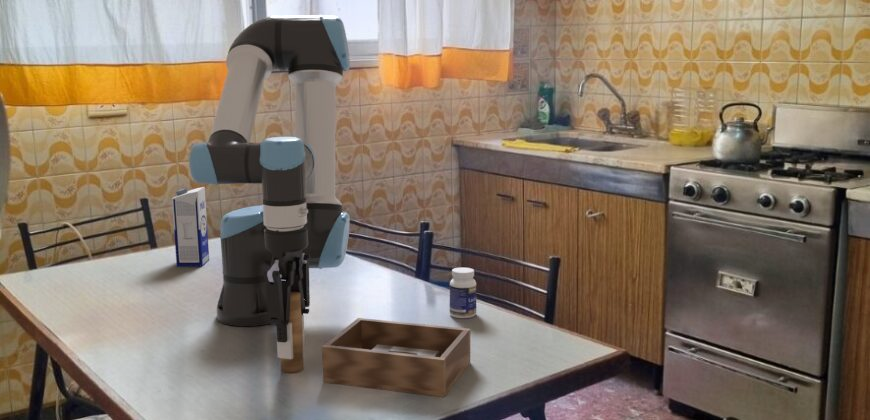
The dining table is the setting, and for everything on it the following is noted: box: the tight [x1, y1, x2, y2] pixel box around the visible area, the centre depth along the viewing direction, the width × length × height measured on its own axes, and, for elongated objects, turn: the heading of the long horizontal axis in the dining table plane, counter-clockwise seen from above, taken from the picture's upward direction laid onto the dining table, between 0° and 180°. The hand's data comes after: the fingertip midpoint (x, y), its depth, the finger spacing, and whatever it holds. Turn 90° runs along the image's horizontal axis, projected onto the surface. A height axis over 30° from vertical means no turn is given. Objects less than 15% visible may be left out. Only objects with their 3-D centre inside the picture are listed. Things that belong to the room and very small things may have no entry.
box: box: [321, 317, 471, 398], centre depth 157 cm, size 22×16×6 cm
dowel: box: [280, 291, 304, 374], centre depth 158 cm, size 4×4×14 cm
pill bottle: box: [449, 267, 477, 319], centre depth 188 cm, size 6×6×10 cm
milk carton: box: [171, 186, 210, 268], centre depth 231 cm, size 7×7×20 cm
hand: (291, 352), depth 159 cm, fingers closed on dowel, 4 cm apart
